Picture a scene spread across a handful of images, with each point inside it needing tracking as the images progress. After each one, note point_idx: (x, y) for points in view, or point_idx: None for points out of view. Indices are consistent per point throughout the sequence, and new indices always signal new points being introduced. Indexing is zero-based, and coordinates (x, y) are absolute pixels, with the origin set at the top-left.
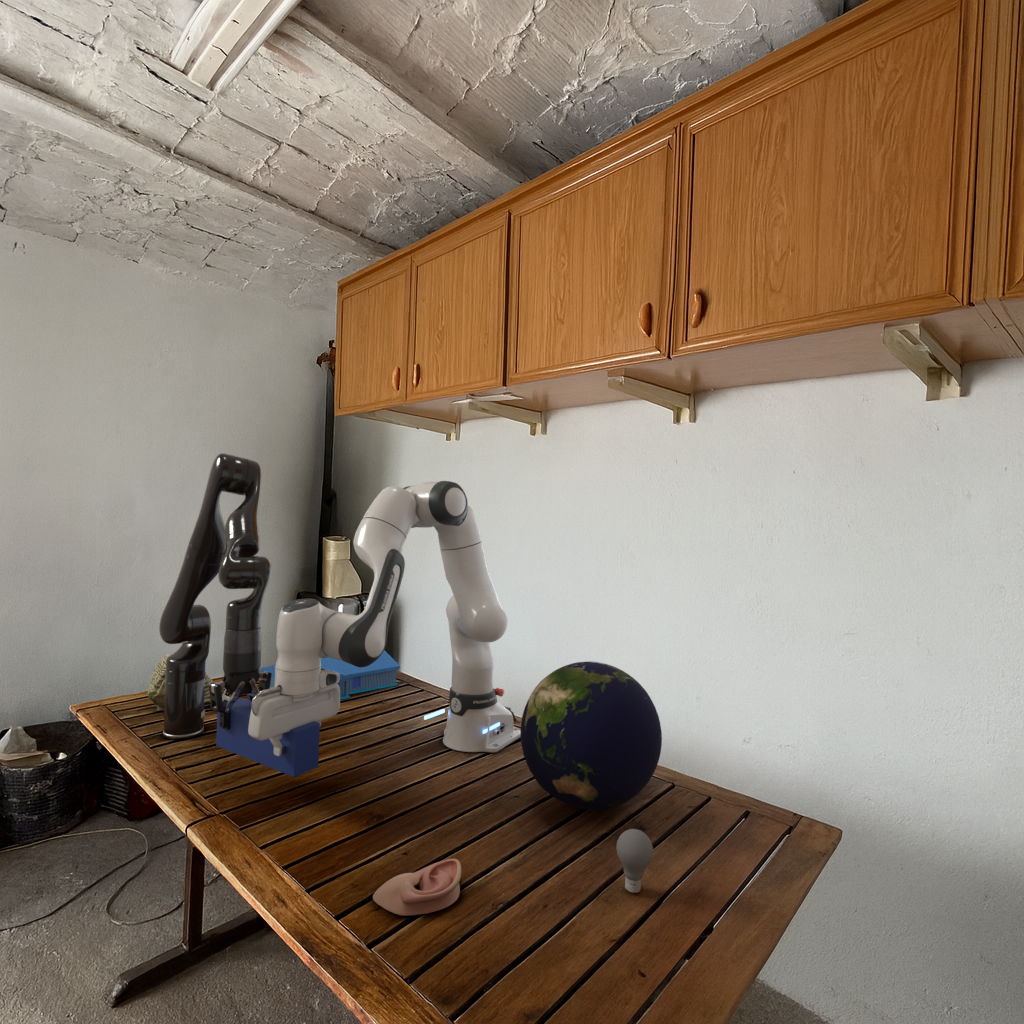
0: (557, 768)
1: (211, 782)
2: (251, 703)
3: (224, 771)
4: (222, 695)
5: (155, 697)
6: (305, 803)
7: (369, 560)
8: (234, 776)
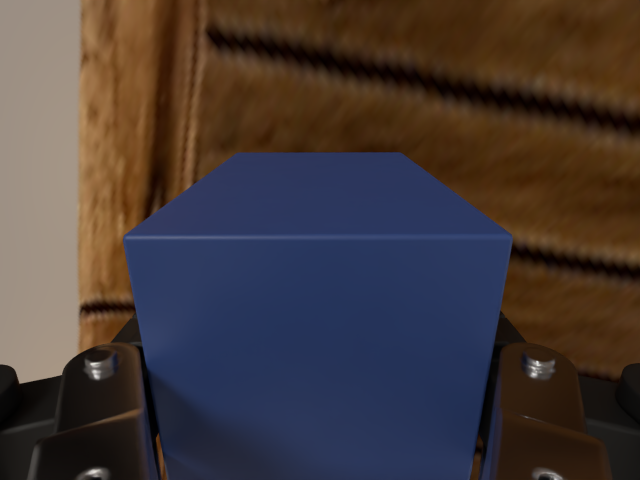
0: None
1: (269, 103)
2: (414, 465)
3: (360, 49)
4: (31, 463)
5: None
6: None
7: None
8: (353, 127)
